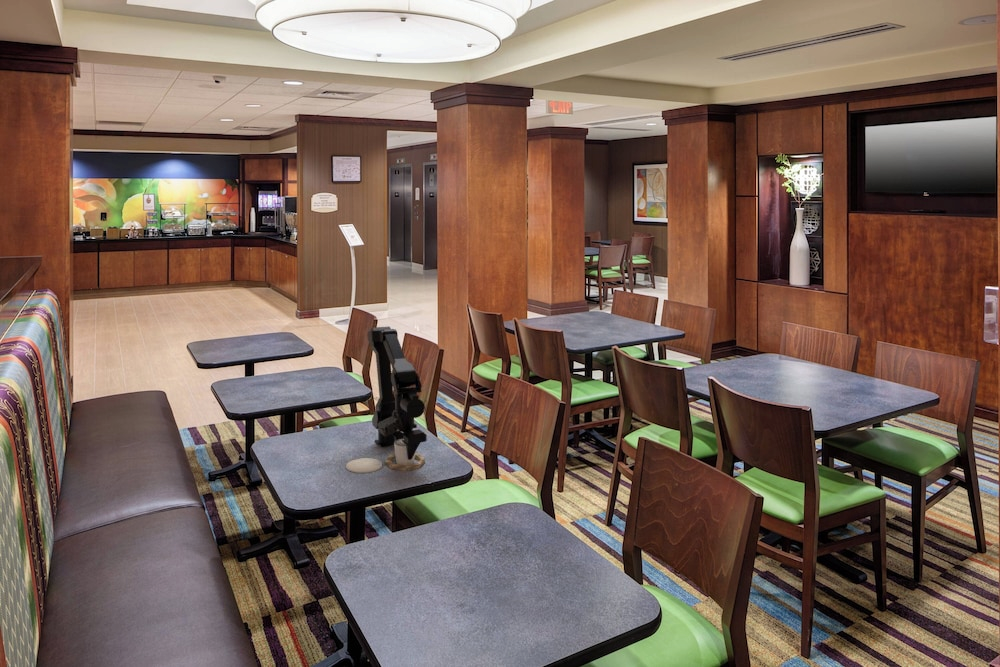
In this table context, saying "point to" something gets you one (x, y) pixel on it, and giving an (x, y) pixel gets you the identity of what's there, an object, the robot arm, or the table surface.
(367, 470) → the coaster mat
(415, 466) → the oak collar
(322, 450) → the table surface
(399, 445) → the shot glass
